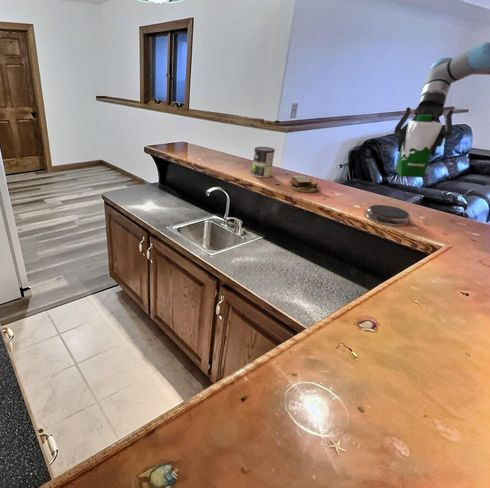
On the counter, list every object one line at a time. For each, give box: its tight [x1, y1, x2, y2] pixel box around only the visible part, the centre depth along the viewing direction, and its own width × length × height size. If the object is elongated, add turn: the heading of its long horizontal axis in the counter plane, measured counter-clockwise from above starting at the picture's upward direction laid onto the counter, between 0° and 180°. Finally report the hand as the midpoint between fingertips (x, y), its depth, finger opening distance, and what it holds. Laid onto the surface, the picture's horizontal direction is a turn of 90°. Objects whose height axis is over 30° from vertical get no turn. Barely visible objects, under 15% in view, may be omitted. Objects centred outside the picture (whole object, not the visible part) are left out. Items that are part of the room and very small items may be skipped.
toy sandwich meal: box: [289, 175, 319, 193], centre depth 167 cm, size 12×14×5 cm
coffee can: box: [251, 146, 276, 179], centre depth 185 cm, size 10×10×14 cm
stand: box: [365, 204, 411, 228], centre depth 134 cm, size 14×14×4 cm
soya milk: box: [394, 114, 444, 178], centre depth 121 cm, size 9×9×20 cm
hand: (415, 151), depth 119 cm, fingers closed on soya milk, 9 cm apart
